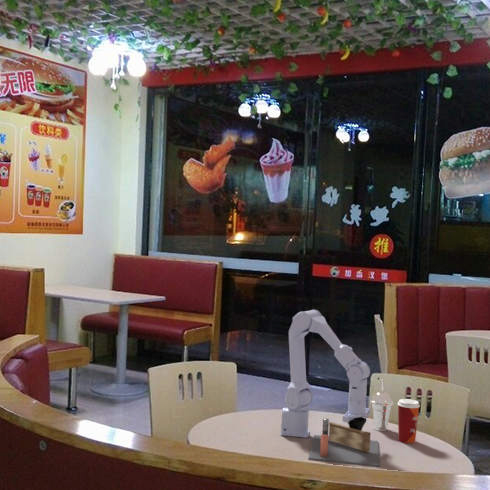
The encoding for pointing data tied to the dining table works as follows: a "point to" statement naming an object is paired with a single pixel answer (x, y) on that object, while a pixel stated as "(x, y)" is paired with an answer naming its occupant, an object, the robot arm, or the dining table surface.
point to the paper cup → (407, 420)
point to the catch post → (324, 445)
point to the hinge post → (325, 426)
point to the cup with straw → (381, 409)
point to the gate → (349, 436)
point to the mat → (345, 453)
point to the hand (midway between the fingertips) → (355, 439)
